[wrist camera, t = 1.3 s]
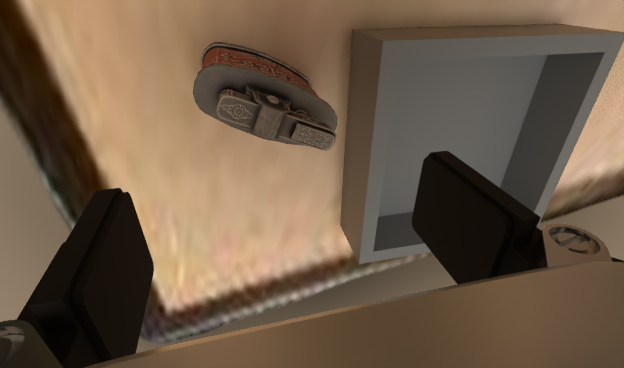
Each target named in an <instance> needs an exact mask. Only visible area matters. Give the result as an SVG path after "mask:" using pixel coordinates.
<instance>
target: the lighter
mask: <svg viewBox="0 0 624 368" xmlns="http://www.w3.org/2000/svg"><path fill="white" fill-rule="evenodd" d="M193 95H194V99H195V102H196V104H197V105H198V107H199V108H200V109H201V110H202V111H203V112H205V113H206V114H208V115H210V116H212V117H214V118H216V119H218V120H220V121H222V122H224V123H225V124H227V125H229V126H231V127H234V128H236V129H239V130H242V131H244V132H247V133H250V134H252V135H255V136H258V137H260V138H263V139H267V140H273V141H278V142H282V143H286V144H295V145H304V146H311V147H314V148H317V149H321V150H329V149H330V148H332V146H333V145H334V143H335V140H336V133H335V129H336V126H337V116H336V114H335V111H334V110H333V109H332V107H331V106H330V105H329V104H328V103H327V102H325V101H324V100H322V99H321V98H319V97H318V96H317V94H316V93H315V92H314V91H313V89H312V86H311V84H310V81H309V80H308V79H307V78H306V77H305V76H304V75H303V74H301V73H300V72H298V71H297V70H295V69H294V68H292V67H291V66H289V65H288V64H286V63H284V62H282V61H280V60H278V59H276V58H274V57H272V56H270V55H268V54H265V53H262V52H259V51H256V50H253V49H250V48H247V47H244V46H239V45H234V44H228V43H223V42H214V43H212V44H210V45H209V46H208V47H207V48H206V49H205V50H204V52H203V55H202V58H201V70H200V71H199V72H198V75H197V77H196V79H195V82H194V89H193Z"/></svg>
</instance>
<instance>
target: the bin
mask: <svg viewBox="0 0 624 368" xmlns="http://www.w3.org/2000/svg"><path fill="white" fill-rule="evenodd" d="M623 41H624V32H617V31H609V30H602V29H594V28H587V27H579V26H571V25H564V24H540V25H501V26H462V27H423V28H383V29H353V30H352V47H351V63H350V79H349V95H348V111H347V127H346V143H345V159H344V176H343V192H342V208H341V224H340V225H341V227H342V229H343V232H344V234H345V236H346V238H347V240H348V242H349V244H350V246H351V248H352V250H353V253H354V255H355V257H356V259H357V261H358V263H359V264H362V263H368V262H374V261H380V260H386V259H392V258H398V257H404V256H409V255H415V254H421V253H427V252H431V251H430V249H429V248H428V247H427V246H426V244H425V243H424V242H423V241H422V239H421V238H420V237H419V236H418V234H417V233H416V232H415V231H414V229H413V227H412V216H413V210H414V205H415V200H416V195H417V190H418V185H419V180H420V175H421V170H422V164H423V160H424V159H425V158H426V157H427V156H428V155H429V153H431V152H439V151H449V152H450V153H452V154H453V155H455V156H456V157H457V158H459V159H460V160H462V161H463V162H464V163H466V164H467V165H469V166H470V167H471V168H473V169H474V170H476V171H477V172H478V173H480V174H481V175H483V176H484V177H485V178H487V179H488V180H489V181H491V182H492V183H494V184H495V185H496V186H498V187H499V188H501V189H502V190H503V191H505V192H506V193H508V194H509V195H510V196H512V197H513V198H515V199H516V200H517V201H519V202H520V203H522V204H523V205H524V206H526V207H527V208H529V209H530V210H531V211H533V212H534V213H535V214H537V215H538V216H540V217H541V218H542V216H543V214H544V212H545V210H546V208H547V205H548V203H549V201H550V199H551V197H552V195H553V193H554V190H555V188H556V186H557V184H558V182H559V180H560V177H561V175H562V173H563V171H564V169H565V167H566V164H567V162H568V160H569V158H570V156H571V154H572V151H573V149H574V147H575V145H576V143H577V141H578V138H579V136H580V134H581V132H582V130H583V128H584V125H585V123H586V121H587V119H588V117H589V115H590V113H591V110H592V108H593V106H594V104H595V102H596V100H597V97H598V95H599V93H600V91H601V89H602V87H603V84H604V82H605V80H606V78H607V76H608V74H609V71H610V69H611V67H612V65H613V63H614V61H615V58H616V56H617V54H618V52H619V50H620V48H621V45H622V43H623ZM541 218H540V220H539V223H540V221H541ZM539 223H538V225H539ZM538 225H537V227H538Z"/></svg>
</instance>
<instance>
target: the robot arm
mask: <svg viewBox="0 0 624 368" xmlns="http://www.w3.org/2000/svg"><path fill="white" fill-rule="evenodd" d="M540 218H541V217H540V216H538V215H537V214H535V213H534V212H533V211H531V210H530V209H529V208H527V207H526V206H524V205H523V204H522V203H520V202H519V201H517V200H516V199H515V198H513V197H512V196H510V195H509V194H508V193H506V192H505V191H503V190H502V189H501V188H499V187H498V186H496V185H495V184H494V183H492V182H491V181H489V180H488V179H487V178H485V177H484V176H483V175H481V174H480V173H478V172H477V171H476V170H474V169H473V168H471V167H470V166H469V165H467V164H466V163H464V162H463V161H462V160H460V159H459V158H457V157H456V156H455V155H453V154H452V153H450V152H449V151H439V152H431V153H429V155H428V156H427V157H426V158H425V159H424V160H423V164H422V170H421V175H420V180H419V185H418V190H417V195H416V200H415V205H414V210H413V216H412V227H413V229H414V231H415V232H416V233H417V234H418V236H419V237H420V238H421V239H422V241H423V242H424V243H425V244H426V246H427V247H428V248H429V249H430V251H431V252H432V253H433V254H434V255H435V257H436V258H437V259H438V260H439V262H440V263H441V264H442V265H443V267H444V268H445V269H446V270H447V272H448V273H449V274H450V275H451V276H452V278H453V279H454V280H455V282H456V283H457V284H458V285H453V286H448V287H443V288H438V289H434V290H428V291H424V292H419V293H414V294H409V295H404V296H399V297H395V298H390V299H385V300H380V301H375V302H370V303H365V304H361V305H356V306H351V307H347V308H342V309H337V310H332V311H327V312H323V313H318V314H314V315H309V316H304V317H300V318H294V319H290V320H285V321H280V322H276V323H271V324H266V325H262V326H257V327H253V328H248V329H243V330H239V331H234V332H229V333H225V334H220V335H216V336H211V337H206V338H202V339H197V340H193V341H189V342H184V343H180V344H175V345H171V346H167V347H162V348H158V349H153V350H150V351H145V352H141V353H136V349H137V344H138V339H139V336H140V331H141V327H142V322H143V318H144V313H145V309H146V304H147V300H148V295H149V291H150V286H151V282H152V277H153V272H154V267H153V261H152V258H151V255H150V252H149V249H148V246H147V243H146V240H145V237H144V234H143V231H142V228H141V225H140V222H139V219H138V216H137V213H136V210H135V207H134V204H133V201H132V198H131V196H130V194H129V193H128V192H124V193H123V192H122V190H121V189H120V188H115V189H106V190H98V191H96V192H95V193H94V195H93V196H92V198H91V200H90V201H89V203H88V205H87V206H86V208H85V210H84V211H83V213H82V215H81V216H80V218H79V220H78V222H77V223H76V225H75V227H74V228H73V230H72V232H71V233H70V235H69V237H68V238H67V240H66V242H64V243H63V244H62V245H61V247H60V248H59V250H58V252H57V254H56V255H55V257H54V258H53V260H52V262H51V263H50V265H49V267H48V269H47V270H46V272H45V273H44V275H43V277H42V278H41V280H40V282H39V284H38V285H37V287H36V288H35V290H34V292H33V293H32V295H31V297H30V299H29V300H28V302H27V303H26V305H25V307H24V308H23V310H22V312H21V313H20V315H19V317H18V318H17V320H8V321H3V322H0V368H624V261H622V260H619V259H615V258H612V257H611V256H610V253H609V251H608V248H607V247H606V245H605V244H604V242H603V241H601V240H600V239H599V238H598V237H597V236H595V235H593V234H592V233H590V232H588V231H586V230H584V229H581V228H579V227H576V226H573V225H568V224H562V223H552V224H548V225H546V226H545V227H543V229H542V231H541V230H540V229H538V228H537V225H538V223H539V220H540ZM135 353H136V354H135Z"/></svg>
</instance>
